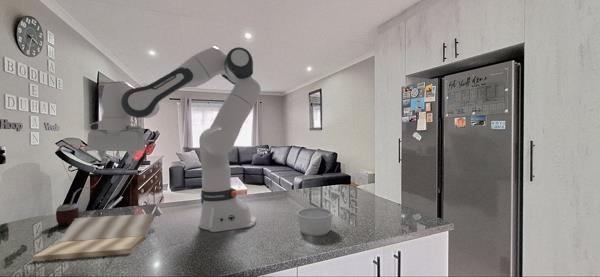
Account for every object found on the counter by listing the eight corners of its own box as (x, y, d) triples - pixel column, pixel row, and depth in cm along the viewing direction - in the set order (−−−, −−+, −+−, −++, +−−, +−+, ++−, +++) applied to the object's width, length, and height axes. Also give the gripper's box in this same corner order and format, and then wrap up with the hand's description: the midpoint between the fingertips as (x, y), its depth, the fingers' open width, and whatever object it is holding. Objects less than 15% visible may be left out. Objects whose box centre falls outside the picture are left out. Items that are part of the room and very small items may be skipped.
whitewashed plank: (153, 216, 101) (153, 213, 100) (145, 238, 92) (144, 235, 92) (76, 221, 96) (75, 218, 95) (60, 244, 88) (58, 241, 87)
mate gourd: (55, 224, 108) (54, 188, 108) (80, 219, 114) (79, 185, 113) (56, 229, 103) (55, 191, 103) (82, 224, 108) (81, 187, 108)
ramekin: (301, 239, 91) (301, 219, 91) (293, 226, 104) (293, 208, 104) (337, 235, 94) (337, 216, 94) (325, 223, 107) (325, 206, 107)
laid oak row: (143, 240, 91) (143, 235, 91) (130, 253, 81) (130, 248, 81) (57, 247, 87) (57, 242, 87) (32, 261, 77) (32, 256, 77)
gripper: (149, 126, 100) (148, 162, 100) (98, 125, 102) (98, 161, 102) (137, 125, 94) (137, 164, 94) (83, 125, 95) (83, 163, 96)
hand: (116, 163), depth 98 cm, fingers open, 8 cm apart
